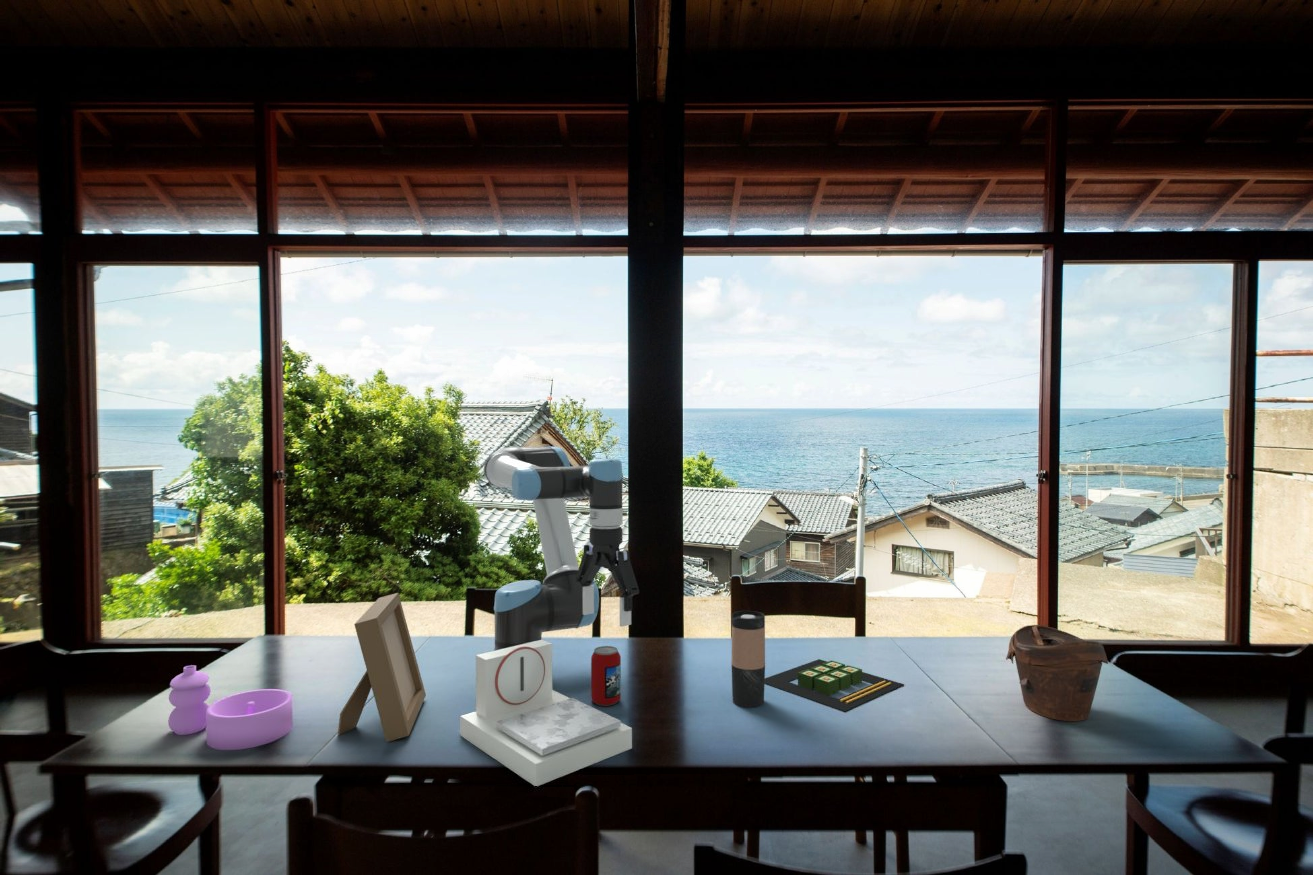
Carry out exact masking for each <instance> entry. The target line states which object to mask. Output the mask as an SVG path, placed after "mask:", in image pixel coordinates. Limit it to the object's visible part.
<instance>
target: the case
mask: <svg viewBox="0 0 1313 875" xmlns="http://www.w3.org/2000/svg"><path fill="white" fill-rule="evenodd" d="M1014 659H1015V665H1016V670H1017V674H1018V680H1019V684H1020V689H1021V695H1022V700H1023V703H1024V705H1025V707H1026V708H1027V709H1029V710H1030V711H1031V712H1033V713H1035V714H1037V715H1040V716H1043V717H1045V718H1048V719H1053V720H1057V721H1062V722H1063V721H1064V722H1080V721H1084V720H1087V719H1088V718H1089V717H1090V714H1091V709H1092V706H1093V702H1094V699H1095V695H1096V691H1097V687H1098V683H1099V679H1100V675H1101V672H1102V671H1101V670H1102V667H1103V663H1104V664H1107V665H1108V664H1109V661H1108V658H1107V654H1106V651H1105V648H1104V645H1102V644H1101V642H1099V641H1091V640H1085V639H1083V638H1080V637H1079V636H1076V635H1074V634H1072V633H1069V632H1066V631H1063V630H1061V629H1057V628H1054V627H1050V626H1046V625H1040V624H1032V625H1031V624H1030V625H1025V626H1022V627H1020V628H1019V629H1017V630H1016V631H1015V632H1014V633H1013V634H1012V636H1010V640H1009V644H1008V650H1007V654H1006V656H1005V660H1010V661H1011V664H1012V665H1014Z"/></svg>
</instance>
